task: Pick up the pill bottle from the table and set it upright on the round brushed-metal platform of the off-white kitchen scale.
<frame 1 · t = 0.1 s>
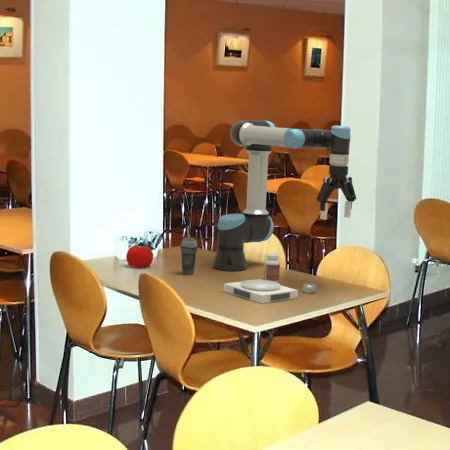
hand: (335, 218, 328), 28 cm above the table, fingers open, 13 cm apart
tomato: (139, 267, 356), on the table
scale: (260, 294, 313), on the table
beverage cup: (187, 274, 346), on the table
shiny grey dome: (309, 292, 321), on the table
pill bottle: (271, 281, 338), on the table
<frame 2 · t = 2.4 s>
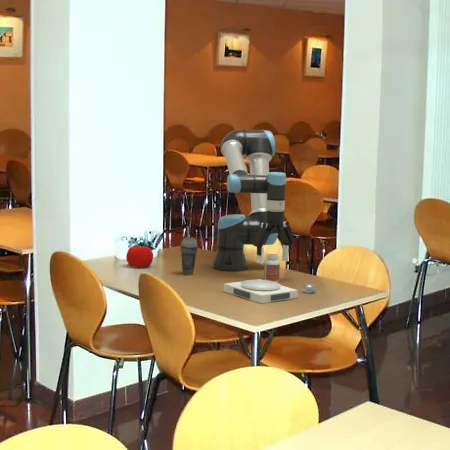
hand: (272, 262, 336), 8 cm above the table, fingers open, 13 cm apart
nothing on the table moved.
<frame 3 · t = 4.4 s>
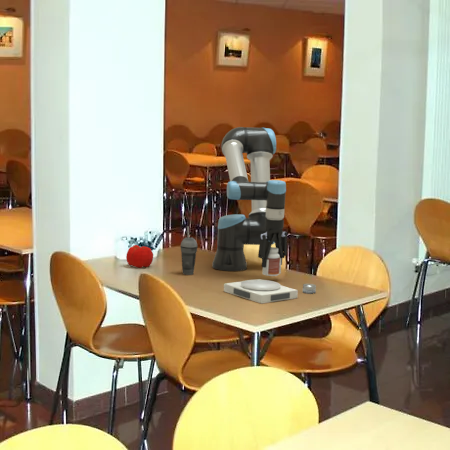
hand: (271, 273, 338), 3 cm above the table, fingers closed on pill bottle, 6 cm apart
pill bottle: (271, 275, 338), point 2 cm above the table, touching gripper
everything else where it was.
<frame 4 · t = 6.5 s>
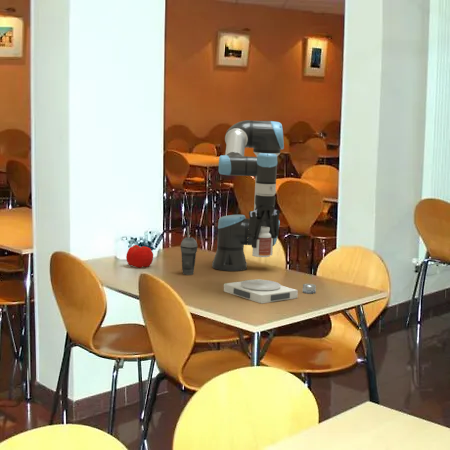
hand: (262, 255, 311), 15 cm above the table, fingers closed on pill bottle, 6 cm apart
pill bottle: (262, 256, 311), point 15 cm above the table, touching gripper
everything else where it was.
when the fingers open (5 cm above the table, at t = 8.6 s): pill bottle stays where it is, resting on scale.
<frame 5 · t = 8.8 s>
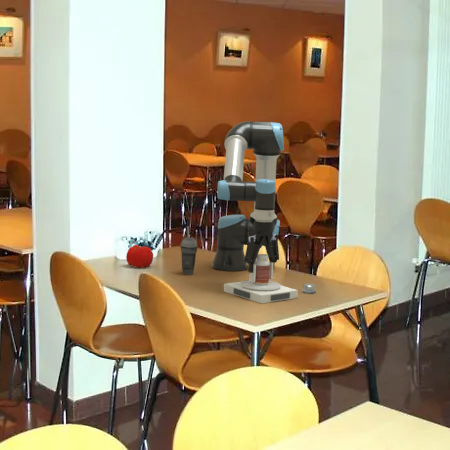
hand: (260, 279, 312), 6 cm above the table, fingers open, 8 cm apart
pill bottle: (260, 284, 312), point 4 cm above the table, touching scale
everything else where it was.
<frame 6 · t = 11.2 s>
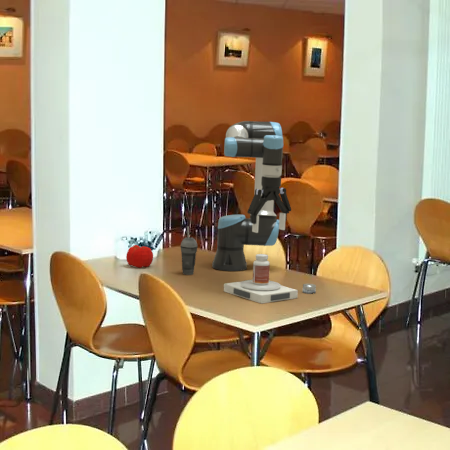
hand: (268, 231, 317), 23 cm above the table, fingers open, 13 cm apart
nothing on the table moved.
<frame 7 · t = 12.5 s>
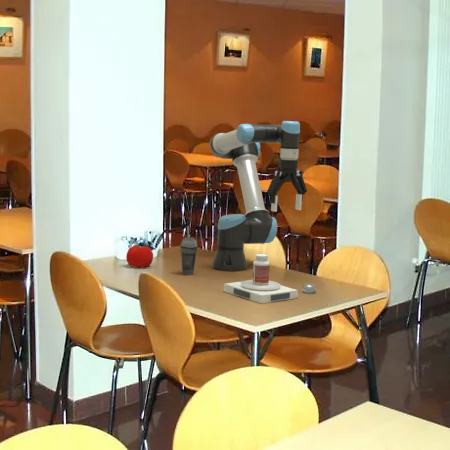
hand: (286, 210, 340), 29 cm above the table, fingers open, 13 cm apart
nothing on the table moved.
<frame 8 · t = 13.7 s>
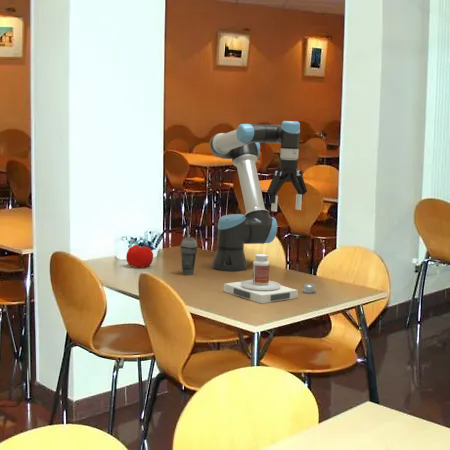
hand: (286, 210, 340), 29 cm above the table, fingers open, 13 cm apart
nothing on the table moved.
at the end: pill bottle inside the target area on the scale (0.1 cm from its centre), point 4.0 cm above the scale's base; pill bottle tilted 0°; the gripper is holding nothing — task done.
